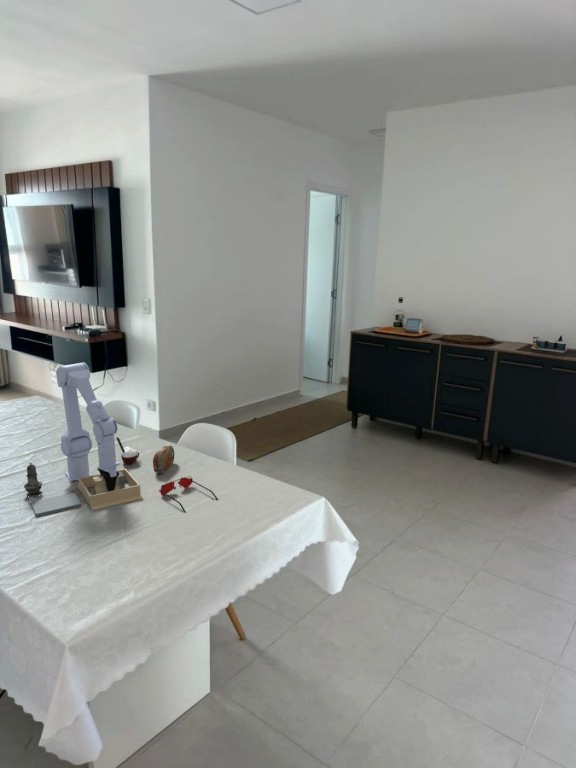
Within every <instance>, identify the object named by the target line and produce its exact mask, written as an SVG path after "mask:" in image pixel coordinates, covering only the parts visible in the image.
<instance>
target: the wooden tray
mask: <svg viewBox="0 0 576 768" xmlns="http://www.w3.org/2000/svg"><path fill="white" fill-rule="evenodd" d="M117 471H118V472H122V473H123V475H124V478H125V482H127V483H128V484H129V486H128V487H125V488H123V489H118V490H114V491H109V492H105V493H100V494H96V495H95V494H91V493H90V491H89V490H88V488H91V487H92V488H93V477H98V476H101V474H100V473H99V474H93V475H92V476H88V477H83V478H79V480H78V484H77V488H78V489H79V490H80V492H81V494H82V496H83V497H84V499H85V500H86V503H88V505H89V508H91V511H96V510H100V509H104V508H108V507H113V506H116V505H117V506H118V505H120V504H121V505H122V504H125V503H126V504H127V503H129V502H134V501H137V500H141V499H142V500H143V498H144V497H143V496H142V493H141V484H140V483H139V482H138V481H137V480H136V479H135V478H134V476H132V474H131V473H130V472H129V471H128V470H127V469H126V468H123V469H116V472H117Z"/></svg>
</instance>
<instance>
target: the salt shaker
mask: <svg viewBox="0 0 576 768" xmlns="http://www.w3.org/2000/svg"><path fill="white" fill-rule="evenodd" d="M38 476H39V475H38V473H37V468H36V465H35V464H32V462H30V463H29V465H27V466H26V478H27V483H25V484H24V485H23V488H24V490H25V491H26V492H27V493H26V494H25V496H26V495H27V497H26V498H28V496H29V497H34V498H37V497H36V496H38V497H39V495H40V496H41V494H42V495H43V491H42V490H41V489H42V485H43V482H42V481H38Z"/></svg>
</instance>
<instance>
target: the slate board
mask: <svg viewBox="0 0 576 768" xmlns="http://www.w3.org/2000/svg"><path fill="white" fill-rule="evenodd" d="M30 504H31V507H32V510H33V513H34V512H35V513H34V515H35V517H37V516H38V517H41V516H46V515H49V514H53V513H59V512H63V511H66V510H71V509H76V508H81V507H82V503H81V501H80V499H79V497H78V496H77V494H76V492H71V493H65V494H61V495H60V494H59V495H56V496H51V497H47V498H44V499H43V498H42V499H39V500H34V501H31V502H30Z"/></svg>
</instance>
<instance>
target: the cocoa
mask: <svg viewBox="0 0 576 768" xmlns="http://www.w3.org/2000/svg"><path fill="white" fill-rule="evenodd" d="M116 440H117V443H118V445H119V448H120V455H121V460H122V463H123V464H125V465H128V466H130V465H133V464H135V463H136V462H137V461H138V458H139V456H140V452H138V449H135V448H132V447H130V446H125V447H123V444H122V442H121V439H120V438H119V437H116Z"/></svg>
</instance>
